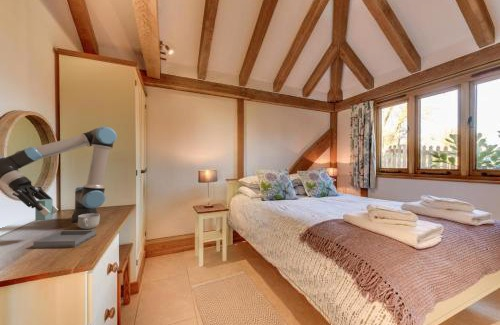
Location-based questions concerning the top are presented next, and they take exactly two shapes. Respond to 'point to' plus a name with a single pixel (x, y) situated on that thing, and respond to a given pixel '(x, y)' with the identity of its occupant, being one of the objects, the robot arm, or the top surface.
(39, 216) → the teal block
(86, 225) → the teacup
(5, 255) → the top surface
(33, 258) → the top surface
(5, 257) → the top surface
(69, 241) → the tray
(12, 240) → the top surface
